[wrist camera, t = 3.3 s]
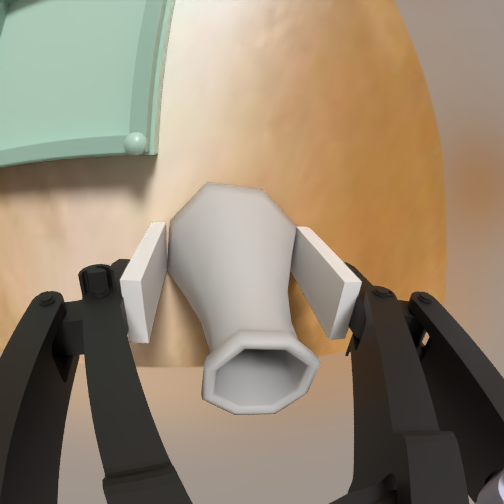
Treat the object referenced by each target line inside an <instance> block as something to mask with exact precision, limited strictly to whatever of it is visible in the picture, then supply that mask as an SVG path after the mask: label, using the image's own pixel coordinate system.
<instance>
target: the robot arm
mask: <svg viewBox="0 0 504 504" xmlns="http://www.w3.org/2000/svg"><path fill="white" fill-rule="evenodd" d="M166 270H167V252H166V222H152V223H151V225H150V227H149V228H148V230H147V232H146V234H145V235H144V237H143V239H142V240H141V242H140V244H139V246H138V247H137V249H136V251H135V253H134V255H133V256H132V258H131V259H119V260H117V261H116V262H114V263H113V264H112V265H111V266H109V265H104V264H96V265H91V266H88V267H86V268H84V269H82V270H81V271H80V272H79V274H78V276H79V281H80V286H81V291H82V300H78V301H72V302H64V299H63V296H62V294H60V293H59V292H54V291H50V292H48V291H47V292H43V293H41V294H39V295H38V296H36V297H35V298H34V299H33V300H32V302H31V303H30V305H29V307H28V308H27V310H26V311H25V313H24V315H23V317H22V318H21V320H20V322H19V323H18V325H17V327H16V329H15V331H14V332H13V334H12V336H11V338H10V340H9V342H8V344H7V345H6V347H5V349H4V351H3V353H2V356H1V357H0V504H57V498H58V479H59V467H60V466H59V465H60V457H61V449H62V441H63V434H64V428H65V421H66V415H67V410H68V405H69V400H70V394H71V390H72V386H73V381H74V377H75V373H76V368H77V364H78V361H79V355H82V354H84V355H85V366H86V376H87V384H88V392H89V398H90V405H91V412H92V418H93V423H94V429H95V434H96V438H97V443H98V448H99V452H100V456H101V460H102V464H103V468H104V472H105V478H104V479H103V490H104V494H105V497H106V500H107V503H108V504H192V502H191V500H190V498H189V496H188V494H187V492H186V490H185V488H184V486H183V484H182V482H181V480H180V478H179V476H178V474H177V472H176V470H175V468H174V466H172V464H171V462H170V459H169V457H168V455H167V453H166V451H165V448H164V446H163V443H162V441H161V438H160V436H159V433H158V431H157V428H156V426H155V423H154V420H153V418H152V415H151V412H150V409H149V407H148V404H147V401H146V398H145V395H144V392H143V389H142V386H141V383H140V380H139V376H138V373H137V370H136V366H135V363H134V360H133V356H132V352H131V349H130V345H129V341H128V337H127V333H129V338H130V342H136V343H149V341H150V336H151V332H152V327H153V323H154V318H155V314H156V310H157V306H158V302H159V298H160V294H161V290H162V286H163V282H164V278H165V274H166ZM290 271H291V273H292V275H293V277H294V278H295V280H296V282H297V284H298V285H299V287H300V289H301V291H302V292H303V294H304V296H305V298H306V299H307V301H308V303H309V305H310V306H311V308H312V310H313V312H314V314H315V315H316V317H317V319H318V321H319V323H320V324H321V326H322V328H323V330H324V332H325V333H326V335H327V337H328V339H329V340H333V339H343V338H345V337H346V334H347V331H348V328H350V329H351V331H352V332H353V334H352V337H351V340H350V343H349V346H348V349H347V352H346V356H348V354H349V352H351V360H352V376H353V397H354V474H353V480H352V483H351V486H350V488H349V490H348V494H346V495H345V496H343V497H341V498H339V499H337V500H336V501H333V502H332V503H330V504H469V499H468V495H469V496H470V498H471V499H472V500H473V501H474V502H475V504H504V379H503V377H502V376H501V375H500V373H499V372H498V371H497V369H496V368H495V367H494V366H493V364H492V363H491V362H490V361H489V359H488V358H487V357H486V355H485V354H484V353H483V352H482V351H481V350H480V348H479V347H478V346H477V345H476V343H475V342H474V341H473V340H472V339H471V338H470V336H469V335H468V334H467V333H466V332H465V331H464V329H463V328H462V327H461V326H460V325H459V324H458V323H457V321H456V320H455V319H454V318H453V317H452V316H451V315H450V314H449V313H448V312H447V310H446V309H445V308H444V307H443V306H442V305H441V304H440V303H439V302H438V301H437V300H436V299H435V298H434V297H433V296H431V295H429V294H428V293H425V292H413V293H412V294H411V297H410V300H409V301H402V300H397V298H396V295H395V294H394V293H393V292H392V291H390V290H389V289H387V288H384V287H380V286H373V285H372V284H371V283H370V282H369V281H368V280H367V279H366V278H365V277H363V275H362V274H361V273H359V271H358V270H357V269H356V268H355V267H354V266H352V265H350V264H348V263H347V262H343V261H342V260H341V259H340V258H339V257H338V256H337V255H336V254H335V253H334V252H333V251H332V250H331V249H330V248H329V247H328V246H327V245H326V244H325V243H324V242H323V241H322V240H321V239H320V238H319V237H318V236H317V235H316V234H315V233H314V232H313V231H312V230H311V229H310V228H309V227H297V226H296V234H295V240H294V246H293V252H292V259H291V266H290ZM426 332H427V333H428V334H429V336H430V337H429V339H428V342H427V344H426V345H424V344H423V343H422V340H423V338H424V336H425V334H426Z"/></svg>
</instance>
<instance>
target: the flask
mask: <svg viewBox="0 0 504 504" xmlns="http://www.w3.org/2000/svg"><path fill="white" fill-rule="evenodd" d="M295 234H296V224H295V223H294V222H293V221H292V220H291V219H290V218H289V217H288V216H287V215H286V214H285V213H284V211H283V210H282V209H281V208H280V207H279V206H278V205H277V204H276V203H275V202H274V201H273V200H272V199H271V198H270V197H269V196H268V195H267V194H266V193H265V192H264V191H263V190H262V189H258V188H251V187H244V186H237V185H229V184H221V183H213V182H207V183H206V184H205V185H204V186H203V187H202V188H201V189H200V190H199V191H198V192H197V193H196V194H195V195H194V196H193V197H192V198H191V199H190V200H189V201H188V202H187V203H186V204H185V206H184V207H183V208H182V209H181V210H180V211H179V212H178V213H177V214H176V215H175V216H174V217H173V218H172V219H171V220H170V228H169V242H168V258H167V270H168V272H169V274H170V275H171V277H172V278H173V280H174V281H175V283H176V284H177V285H178V287H179V288H180V290H181V291H182V292H183V294H184V296H185V297H186V299H187V301H188V302H189V304H190V305H191V307H192V309H193V310H194V312H195V313H196V315H197V317H198V318H199V320H200V322H201V326H202V329H203V332H204V335H205V338H206V341H207V344H208V348H209V355H208V356H207V357H206V359H205V362H204V371H203V381H202V393H201V394H202V399H203V400H205V401H207V402H209V403H211V404H213V405H215V406H217V407H219V408H221V409H223V410H226V411H228V412H230V413H232V414H234V415H246V414H247V415H254V414H276V413H277V412H279V411H280V410H282V409H283V408H285V407H286V406H288V405H289V404H291V403H293V402H294V401H296V400H297V399H298V398H300V397H302V396H303V395H305V394H306V393H307V392H308V390H309V388H310V386H311V383H312V381H313V379H314V377H315V374H316V372H317V370H318V367H319V365H320V361H319V358H318V356H317V355H316V354H315V353H314V352H312V351H311V350H310V349H309V348H307V347H306V346H305V345H303V344H302V343H301V342H299V340H298V338H297V335H296V333H295V330H294V328H293V325H292V323H291V315H290V307H289V299H288V284H289V275H290V266H291V257H292V251H293V246H294V240H295Z"/></svg>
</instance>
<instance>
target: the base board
mask: <svg viewBox="0 0 504 504" xmlns="http://www.w3.org/2000/svg"><path fill="white" fill-rule="evenodd" d="M174 4H175V0H0V168H2V167H8V166H14V165H21V164H29V163H36V162H45V161H54V160H64V159H75V158H88V157H104V156H127V155H155V154H157V153H158V141H159V124H160V110H161V98H162V87H163V77H164V68H165V60H166V53H167V45H168V39H169V32H170V26H171V20H172V14H173V9H174Z"/></svg>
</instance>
